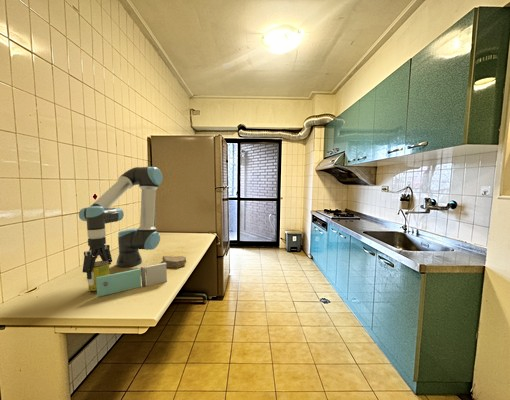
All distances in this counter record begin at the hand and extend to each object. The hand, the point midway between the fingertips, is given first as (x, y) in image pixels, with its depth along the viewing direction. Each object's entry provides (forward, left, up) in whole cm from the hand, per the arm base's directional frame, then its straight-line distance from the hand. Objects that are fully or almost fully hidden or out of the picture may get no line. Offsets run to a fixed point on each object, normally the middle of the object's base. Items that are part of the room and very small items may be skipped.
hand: (99, 280), depth 123 cm
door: (+10, +8, -4) cm, 13 cm away
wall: (+9, +20, -4) cm, 22 cm away
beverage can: (0, 0, -3) cm, 3 cm away
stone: (-15, +43, -5) cm, 46 cm away
